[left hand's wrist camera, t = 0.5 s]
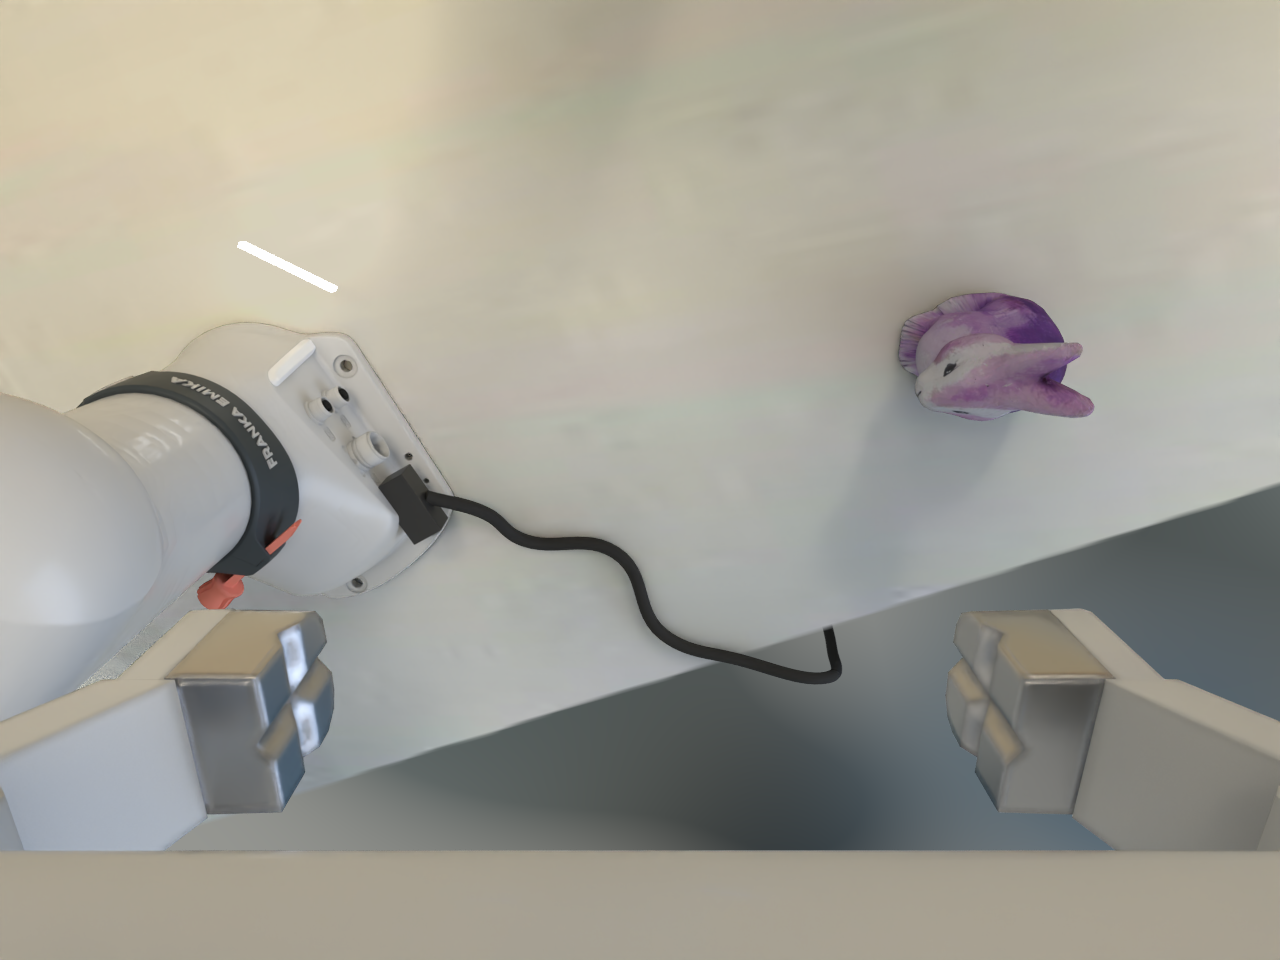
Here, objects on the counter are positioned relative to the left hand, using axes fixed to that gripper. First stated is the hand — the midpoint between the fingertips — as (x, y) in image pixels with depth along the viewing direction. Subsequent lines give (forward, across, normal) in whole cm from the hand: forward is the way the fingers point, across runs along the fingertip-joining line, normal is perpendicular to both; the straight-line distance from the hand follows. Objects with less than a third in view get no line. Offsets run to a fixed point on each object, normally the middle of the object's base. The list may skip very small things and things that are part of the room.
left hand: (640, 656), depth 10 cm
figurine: (+48, -23, +5) cm, 53 cm away
